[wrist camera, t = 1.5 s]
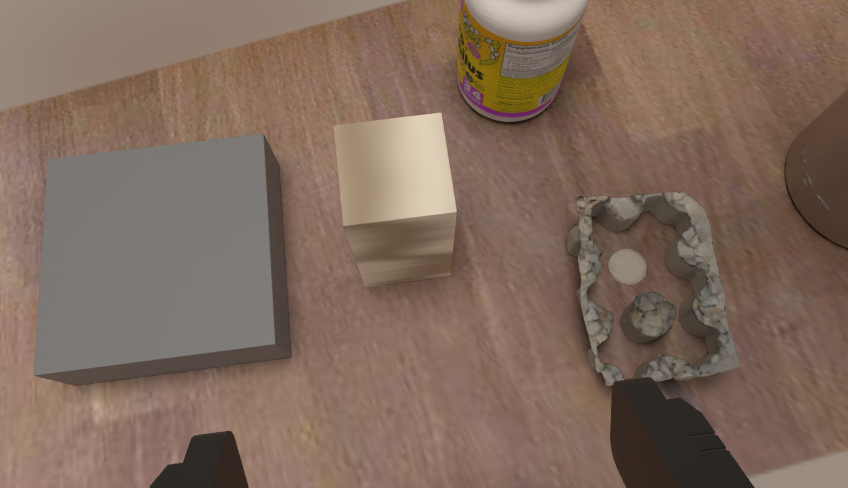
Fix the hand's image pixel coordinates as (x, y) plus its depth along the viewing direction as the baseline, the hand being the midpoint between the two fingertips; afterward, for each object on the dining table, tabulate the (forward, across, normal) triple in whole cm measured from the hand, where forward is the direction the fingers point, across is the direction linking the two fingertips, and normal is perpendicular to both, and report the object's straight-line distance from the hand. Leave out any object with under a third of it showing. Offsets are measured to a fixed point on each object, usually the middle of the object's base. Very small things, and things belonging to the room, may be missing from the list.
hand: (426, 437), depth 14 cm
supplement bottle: (+32, -8, 0) cm, 33 cm away
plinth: (+25, +13, +7) cm, 29 cm away
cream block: (+25, 0, +7) cm, 26 cm away
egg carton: (+21, -13, +11) cm, 27 cm away
